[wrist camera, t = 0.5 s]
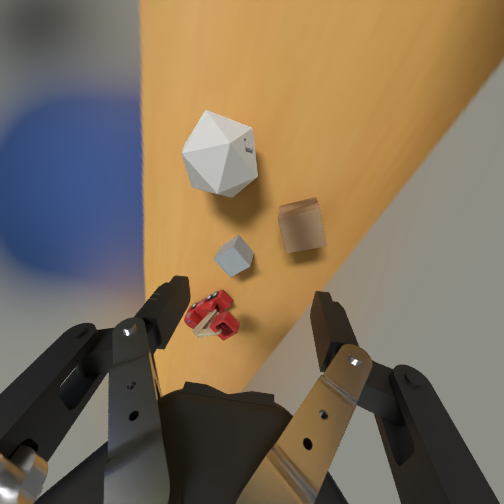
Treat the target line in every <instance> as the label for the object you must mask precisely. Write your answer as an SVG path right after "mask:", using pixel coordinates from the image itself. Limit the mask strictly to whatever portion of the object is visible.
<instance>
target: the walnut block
mask: <svg viewBox="0 0 504 504" xmlns="http://www.w3.org/2000/svg"><path fill="white" fill-rule="evenodd" d="M278 221H279V225H280V228H281V232H282V236H283V240H284V244H285V248H286V251H287V253H292V252H298V251H303V250H309V249H314V248H320V247H326V241H325V235H324V228H323V222H322V215H321V209H320V207H319V204H318V201H317V199H316V197H315V198H311V199H307V200H303V201H298V202H294V203H290V204H286V205H282V206H280V208H279V216H278Z"/></svg>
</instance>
